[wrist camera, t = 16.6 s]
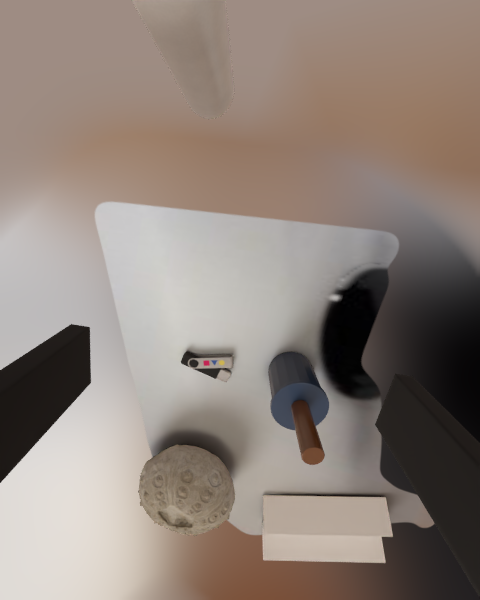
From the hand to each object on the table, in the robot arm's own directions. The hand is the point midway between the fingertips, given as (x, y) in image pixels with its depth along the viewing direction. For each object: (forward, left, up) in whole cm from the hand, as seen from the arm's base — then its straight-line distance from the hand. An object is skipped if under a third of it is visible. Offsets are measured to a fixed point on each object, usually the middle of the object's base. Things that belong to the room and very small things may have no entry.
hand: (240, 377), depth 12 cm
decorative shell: (+42, -3, -30) cm, 52 cm away
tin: (+18, +11, -31) cm, 37 cm away
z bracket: (+54, +26, -31) cm, 67 cm away
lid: (+18, +11, -22) cm, 31 cm away
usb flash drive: (+18, -3, -31) cm, 36 cm away
